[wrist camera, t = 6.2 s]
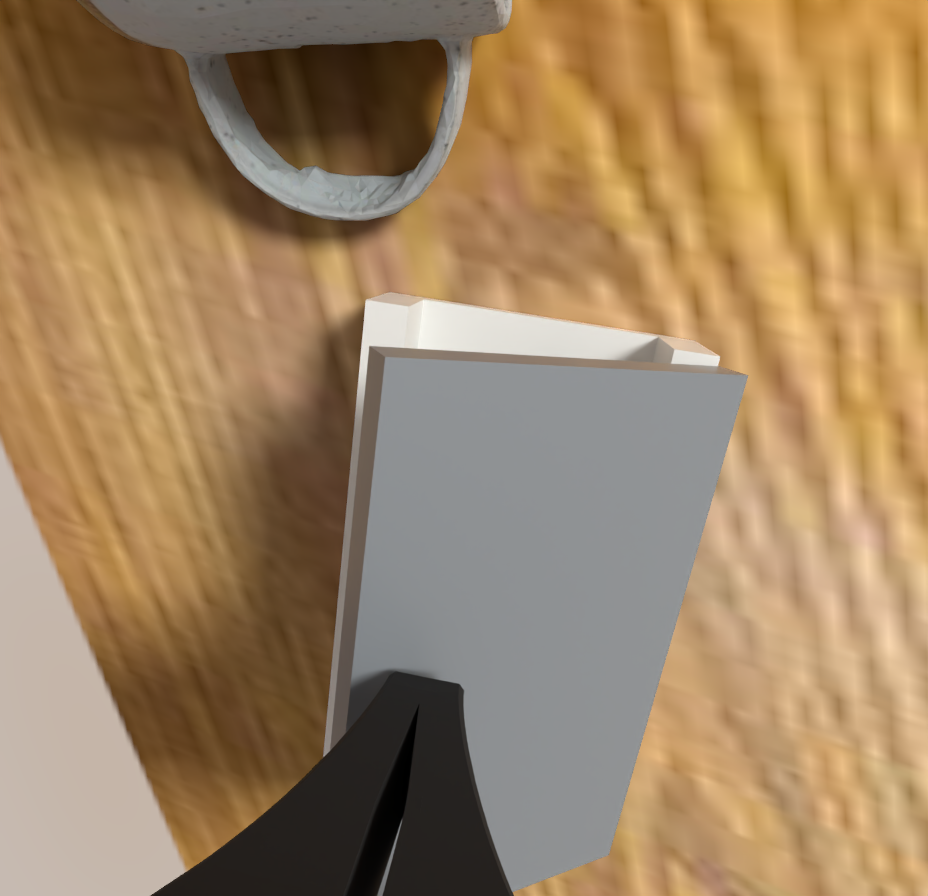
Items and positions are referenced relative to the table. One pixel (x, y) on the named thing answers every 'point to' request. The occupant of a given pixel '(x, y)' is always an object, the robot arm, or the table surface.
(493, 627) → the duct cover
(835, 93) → the table surface
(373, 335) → the cable duct
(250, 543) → the table surface
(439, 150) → the ceramic mug
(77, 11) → the table surface
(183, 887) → the robot arm
